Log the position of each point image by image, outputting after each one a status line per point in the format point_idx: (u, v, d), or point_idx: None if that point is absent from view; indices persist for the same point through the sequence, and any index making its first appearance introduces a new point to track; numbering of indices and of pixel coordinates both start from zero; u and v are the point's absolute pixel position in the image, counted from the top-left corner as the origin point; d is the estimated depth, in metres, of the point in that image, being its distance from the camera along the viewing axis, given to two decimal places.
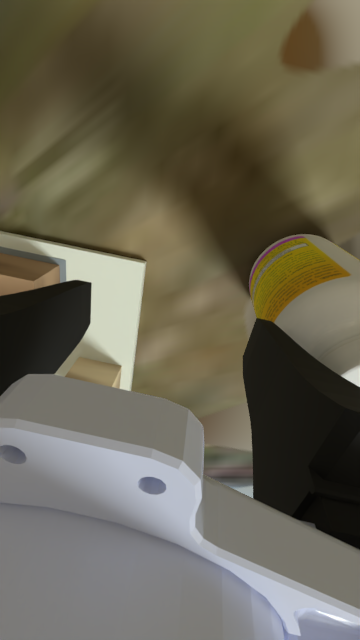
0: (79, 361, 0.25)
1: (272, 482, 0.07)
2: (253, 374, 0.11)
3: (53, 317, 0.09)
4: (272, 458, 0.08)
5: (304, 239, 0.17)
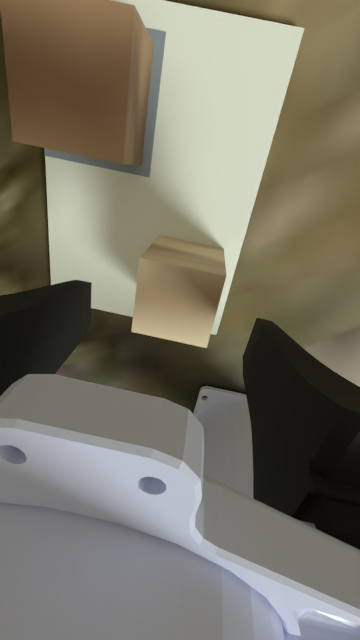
0: (163, 238, 0.17)
1: (272, 481, 0.07)
2: (253, 374, 0.11)
3: (53, 317, 0.09)
4: (272, 458, 0.08)
5: None
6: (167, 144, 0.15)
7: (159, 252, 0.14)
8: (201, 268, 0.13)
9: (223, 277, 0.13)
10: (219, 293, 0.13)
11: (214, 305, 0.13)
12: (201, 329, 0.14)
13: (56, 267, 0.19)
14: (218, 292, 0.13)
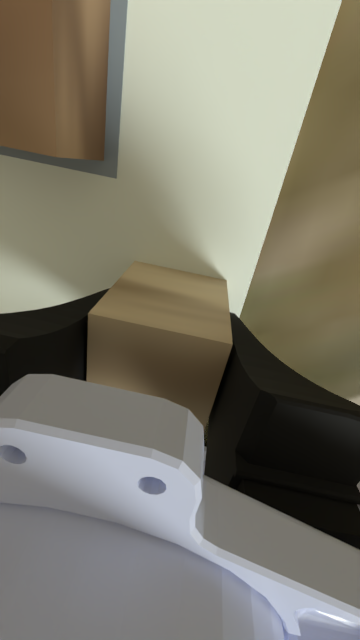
0: (138, 266, 0.12)
1: (214, 469, 0.07)
2: None
3: None
4: (217, 446, 0.08)
5: None
6: (141, 128, 0.10)
7: (126, 297, 0.09)
8: (191, 329, 0.08)
9: (227, 346, 0.08)
10: (220, 369, 0.08)
11: (212, 385, 0.08)
12: None
13: None
14: (219, 367, 0.08)
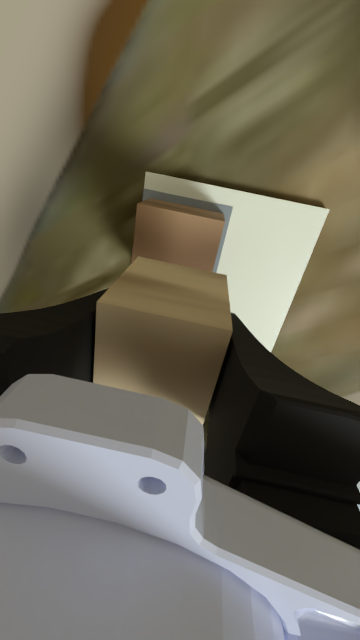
0: (142, 261, 0.12)
1: (214, 469, 0.07)
2: None
3: None
4: (216, 446, 0.08)
5: None
6: (227, 270, 0.21)
7: (131, 288, 0.09)
8: (194, 317, 0.08)
9: (228, 333, 0.08)
10: (221, 355, 0.08)
11: (214, 371, 0.09)
12: (194, 402, 0.09)
13: None
14: (220, 353, 0.08)
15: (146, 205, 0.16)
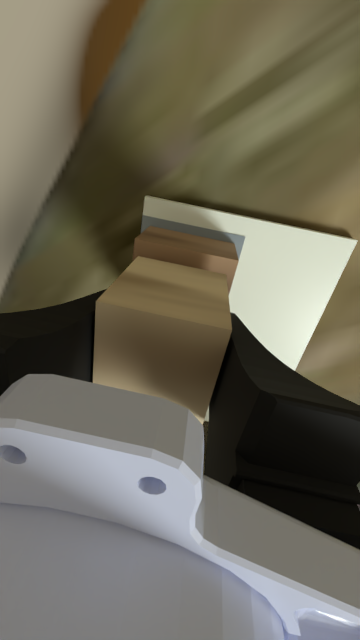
0: (142, 260, 0.12)
1: (214, 469, 0.07)
2: None
3: None
4: (217, 446, 0.08)
5: None
6: (237, 305, 0.18)
7: (131, 288, 0.09)
8: (193, 316, 0.08)
9: (227, 332, 0.08)
10: (221, 354, 0.08)
11: (213, 370, 0.09)
12: (194, 402, 0.09)
13: None
14: (219, 353, 0.08)
15: (145, 241, 0.13)
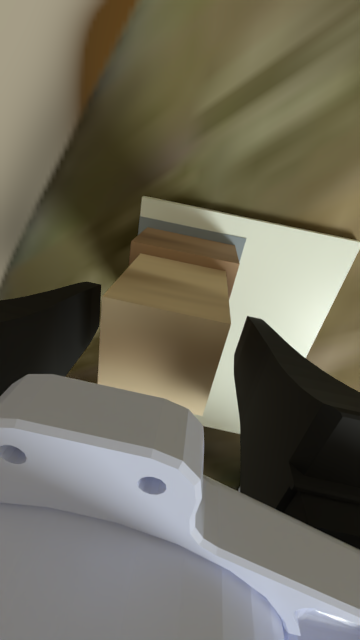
0: (144, 258, 0.12)
1: (257, 478, 0.07)
2: (243, 372, 0.11)
3: (65, 320, 0.09)
4: (257, 455, 0.08)
5: None
6: (238, 309, 0.18)
7: (134, 284, 0.10)
8: (194, 311, 0.09)
9: (226, 326, 0.09)
10: (220, 347, 0.09)
11: (213, 363, 0.09)
12: (194, 393, 0.10)
13: None
14: (219, 346, 0.09)
15: (142, 243, 0.13)
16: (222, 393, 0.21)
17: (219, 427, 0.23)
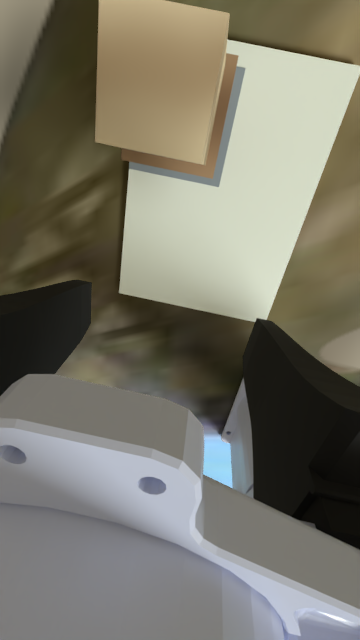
0: None
1: (272, 481, 0.07)
2: (253, 374, 0.11)
3: (53, 317, 0.09)
4: (272, 458, 0.08)
5: None
6: (237, 159, 0.17)
7: None
8: (192, 10, 0.09)
9: (225, 17, 0.08)
10: (219, 52, 0.09)
11: (211, 78, 0.09)
12: (193, 128, 0.10)
13: (126, 265, 0.22)
14: (217, 50, 0.09)
15: None
16: (222, 268, 0.21)
17: (218, 312, 0.23)
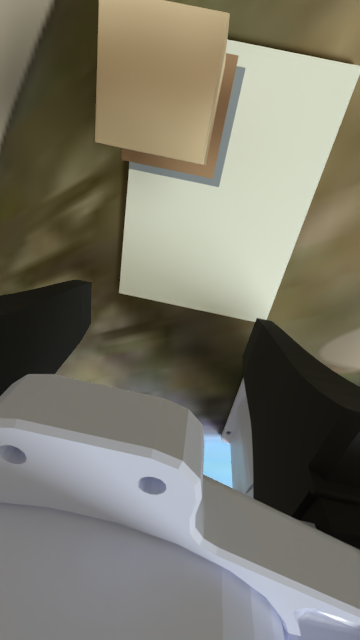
0: None
1: (272, 481, 0.07)
2: (253, 374, 0.11)
3: (53, 317, 0.09)
4: (272, 458, 0.08)
5: None
6: (237, 159, 0.17)
7: None
8: (192, 10, 0.09)
9: (225, 17, 0.08)
10: (219, 52, 0.09)
11: (211, 78, 0.09)
12: (193, 128, 0.10)
13: (126, 265, 0.22)
14: (217, 50, 0.09)
15: None
16: (222, 268, 0.21)
17: (218, 312, 0.23)
